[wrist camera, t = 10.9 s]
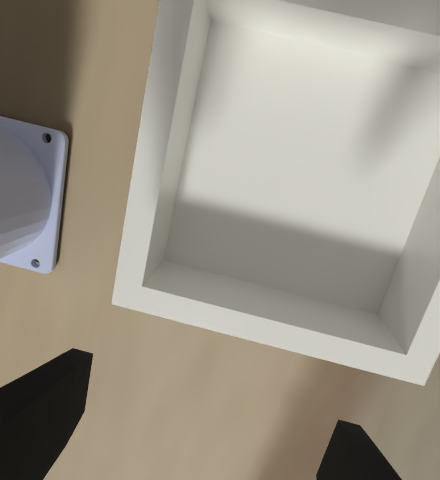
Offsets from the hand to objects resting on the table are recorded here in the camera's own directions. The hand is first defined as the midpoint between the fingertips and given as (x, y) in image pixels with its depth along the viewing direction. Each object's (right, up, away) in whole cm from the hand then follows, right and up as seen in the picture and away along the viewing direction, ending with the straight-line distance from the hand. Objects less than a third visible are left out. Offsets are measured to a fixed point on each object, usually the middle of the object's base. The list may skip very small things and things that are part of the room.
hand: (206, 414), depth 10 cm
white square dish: (+4, +8, +8) cm, 12 cm away
